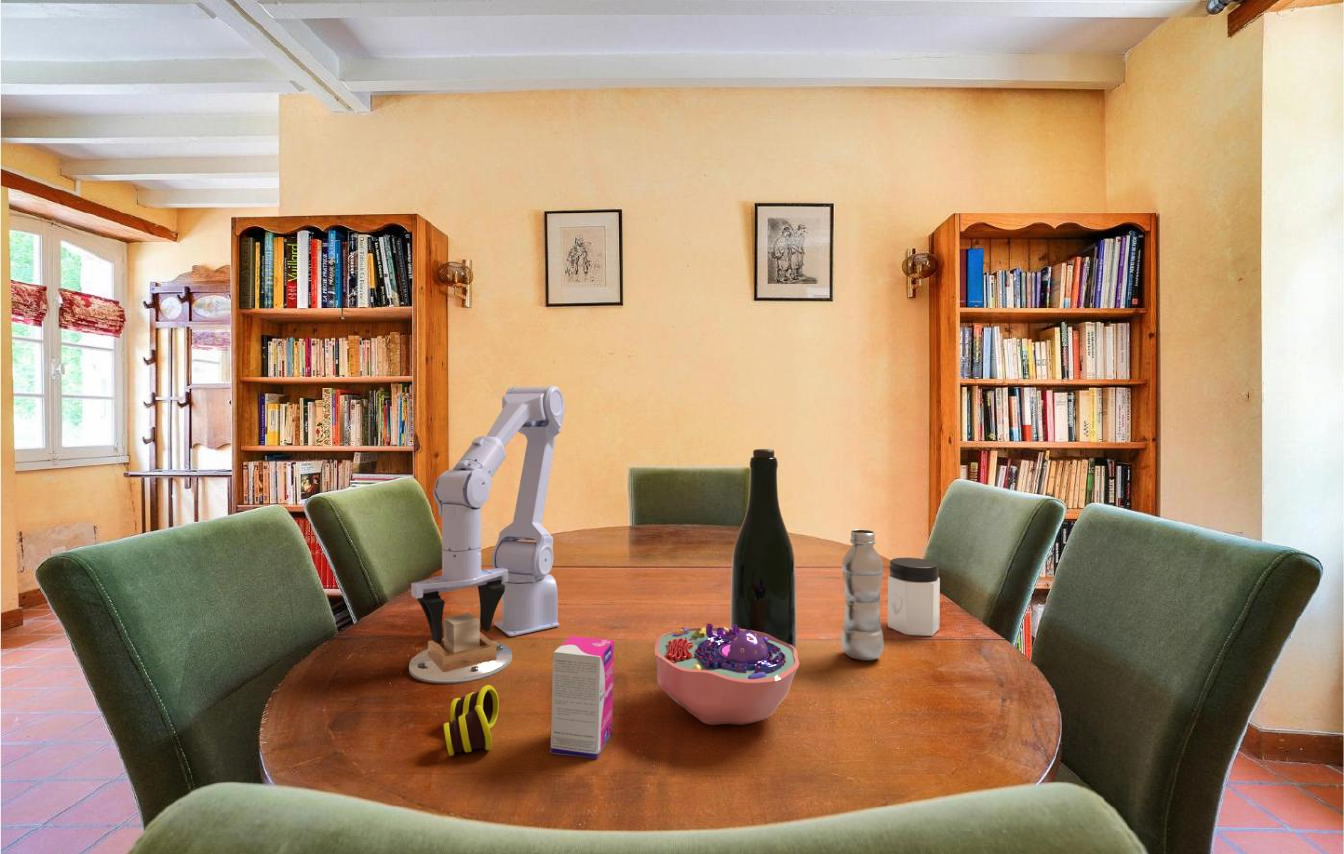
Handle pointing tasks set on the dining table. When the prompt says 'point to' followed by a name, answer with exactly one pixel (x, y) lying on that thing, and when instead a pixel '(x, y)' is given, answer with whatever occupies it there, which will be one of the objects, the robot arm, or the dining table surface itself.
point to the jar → (914, 596)
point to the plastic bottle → (862, 598)
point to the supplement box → (582, 696)
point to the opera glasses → (472, 721)
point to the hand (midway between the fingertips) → (461, 635)
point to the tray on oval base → (460, 662)
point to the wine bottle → (764, 559)
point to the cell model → (725, 672)
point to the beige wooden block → (461, 633)
